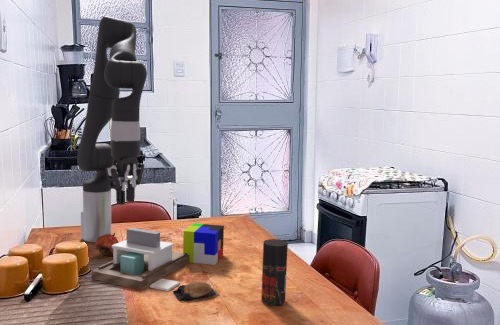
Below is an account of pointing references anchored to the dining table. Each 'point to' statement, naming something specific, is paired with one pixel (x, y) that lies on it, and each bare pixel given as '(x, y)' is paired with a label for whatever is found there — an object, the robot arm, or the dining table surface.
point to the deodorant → (274, 272)
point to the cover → (144, 247)
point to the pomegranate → (106, 244)
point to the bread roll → (195, 291)
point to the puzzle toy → (203, 243)
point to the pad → (164, 284)
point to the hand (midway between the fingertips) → (125, 202)
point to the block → (132, 263)
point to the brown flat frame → (113, 275)
